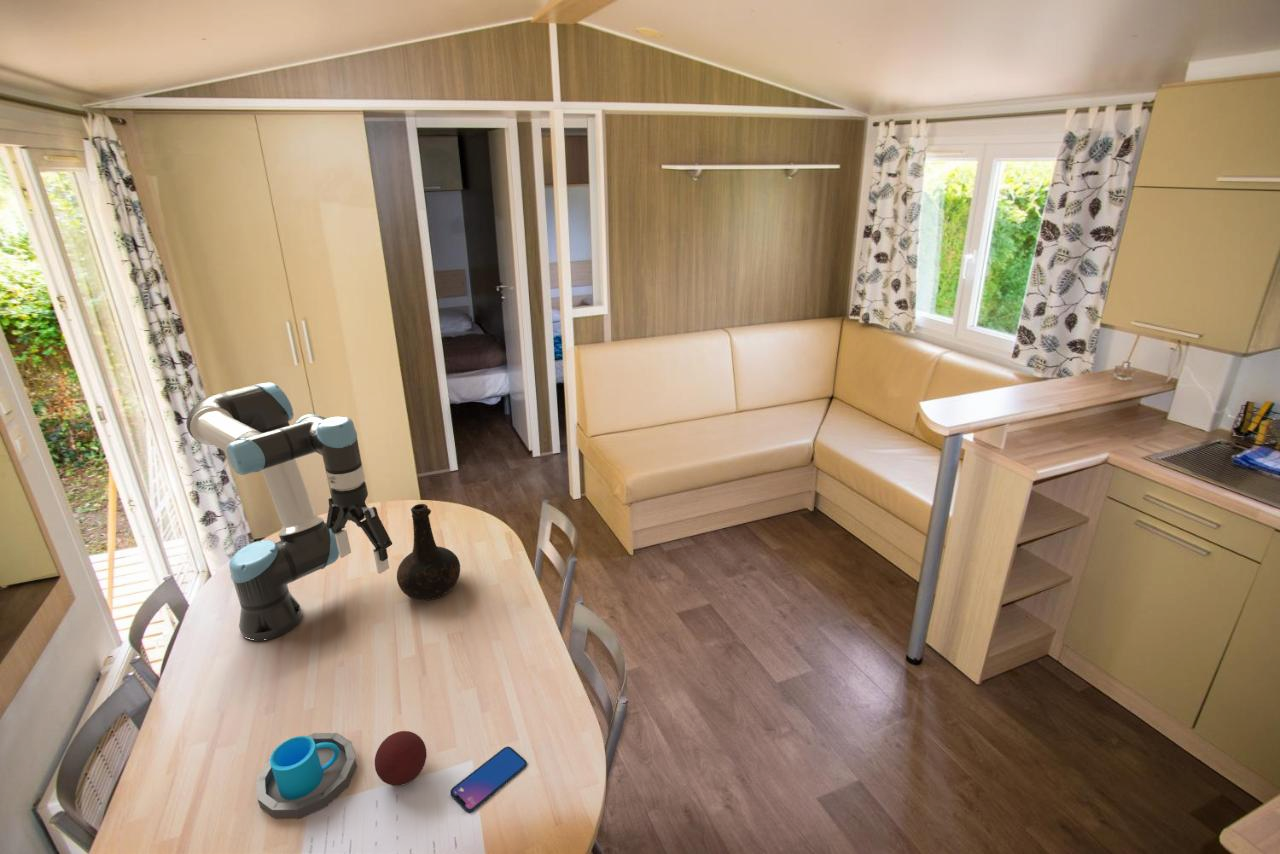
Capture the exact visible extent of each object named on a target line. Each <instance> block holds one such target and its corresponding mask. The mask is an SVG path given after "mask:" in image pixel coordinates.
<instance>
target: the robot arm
mask: <svg viewBox="0 0 1280 854" xmlns="http://www.w3.org/2000/svg"><path fill="white" fill-rule="evenodd" d="M292 419H294V409H293V406H292V404H291V401H290V400H289V398H288V396H287V394H286V393H285V391H283V389H282V388H280V387H279V386H278V385H277V384H276V383H273V382H270V381H269V382H263V383H256V384H253V385H249V386H244V387H241V388H236V389H232V390H228V391H224V392H220V393H214V394H211V395H208V396H206V397H205V398H203V399H200V400H199V401H198V402H196V404H195V405H194V406H193V407H192V408H191V409H190V410H189V412H188V414H187V417H186V429H187V432H188V433H189V435H190V437H191V438H193V439H194V440H196V441H197V442H199V443H201V444H203V445H207V446H214V447H216V448H217V449H219V450H221V451H222V452H225V453H226V455H227V459H228V462H229V464H230V466H231V468H232V469H233V470H234V472H235V473H236V474H237V475H240V476H245V475H248V474H252V473H259V472H260V471H261V472H262V474H263V478H264V480H265V483H266V486H267V489H268V491H269V494H270V497H271V499H272V502H273V505H274V507H275V508H274V509H275V511H276V513H277V516H278V518H279V521H280V524H281V529H280V530H279V532H278V537H279V539H280V540H279V541H277V542H275V541H273V540H270V539H263V540H262V541H261V540H257V541H254V542H251V543H249V544H247V545H245V546H243V547H241V548H240V549H239V550H237V551H236V553H234V555H232V558H231V559H230V561H229V565H228V566H229V572H230V579H231V580H232V582H233V585H234V589H235V591H236V595H237V598H238V600H239V604H240V613H239V623H238V628H239V632H240V634H242V635H243V636H244V637H247V638H250V639H254V640H264V639H269V640H272V639H271V638H273V639H275V637H276V638H279V637H281V636H283V635H284V634H287V633H288V631H289V632H290V631H292V630H293V629H294V628H295V627H296V626H298V625H299V623H300V622H301V620H302V618H303V610H302V607H301V605H300V603H299V601H298V600H297V599H296V598H295V597H294V596H293V595H292V593H291V592H290V590H289V586H288V584H291V583H293V582H295V581H297V580H299V579H301V578H304V577H306V576H308V575H311V574H312V573H314V572H317V571H319V570H324V569H325V568H326V567H327V566H330V565H332V564H334V563H335V562H337V560H338V559H339V558H340V559H342V558H345V557H346V556H348V555H349V554H351V553H352V550H351V549H352V548H351V545H350V541H349V536H348V531H347V529H346V524H347V523H348V521H351V522H353V523H355V525H356V526H357V527H358V528H360V529H362V531H363V532H364V534H365V535H366V537H367V538H368V539H369V541H370V542H371V544H372V545H373V547H374V548H373V550H372V551H373V555H374V560H375V565H376V570H377V574H379V575H381V574H383V573H384V572H386V571H387V570H389V569H390V564H389V555H388V550H387V548H389V547H390V546H392V545H393V542H392V540H391V537H390V536H389V534H388V532H387V530H386V528H385V526H384V524H383V522H382V520H381V518H380V516H379V512H378V509H377V507H376V506H372V507H368V506H367V504H366V500H367V498H368V495H369V494H368V493H369V492H368V487H367V483H366V481H365V480H366V477H365V470H364V466H363V463H362V459H361V457H362V456H361V453H360V452H361V451H360V447H359V441H358V433H357V430H356V428H355V427H356V426H355V424H354V421H353V420H352V419H351V418H349V417H347V416H344V417H343V416H331V417H328V418H327V417H324V416H321V415H318V414H314V413H313V414H311V413H310V414H309V413H308V414H305V415H302V416H300V417H299V418H298V419H297V420H296V421H295V422H294V423H293V424H290V422H291V421H292ZM315 453H317V454H319V455H321V456H322V458H323V463H324V467H325V471H326V475H327V482H328V485H329V487H330V495H331V497H329V498H328V499H327V500H328V506H329V507H328V511H327V516H326V517H327V519H326V521H324V518H323V517H321V516H318V515H316V513H315V510H314V507H313V504H312V501H311V499H310V497H309V493H308V491H307V487H306V486H305V482H304V480H303V477H302V475H301V471H300V469H299V466H298V462H297V460H296V459H299V458H302V457H305V456H308V455H312V454H315ZM282 634H283V635H282ZM242 635H241V636H242ZM280 635H281V636H280ZM243 636H242V637H243ZM278 636H279V637H278ZM244 637H243V638H244ZM264 641H265V640H264Z"/></svg>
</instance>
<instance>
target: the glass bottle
mask: <svg viewBox="0 0 1280 854" xmlns="http://www.w3.org/2000/svg"><path fill="white" fill-rule="evenodd" d="M410 512H411V518H412V524H413V525H412V526H413V547H412V552H410V553H409V554H407V555H406V556H405V557H404V558H403V559H402V561H401V562H400V563H399V564H398V568H397V571H396V582H397V584H398V587H399V588H400V590H401V592H403V594H404V595H406V596H407V597H408V598H411V599H414V600H416V601H433V600H436V599H438V598H440V597H442V596H444V595H446V594H447V593H448V592H450V591H451V590H452V589H453V588H454V586H455V585H456V584H457V581H458V579H459V577H460V574H461V564H460V560H459V558H458V556H457V555H456V554H455V553H454V552H453V551H452V550H450V549H448V548H446V547H444V546H438V545H437V543H436V541H435V538H434V533H433V531H432V527H431V521H430V520H431V519H430V517H429V516H430V515H431V512H432V509H430V508H429V507H428V505H427V504H425V503H418V504H415V505H414V506H413V507H412V508H410Z"/></svg>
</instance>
